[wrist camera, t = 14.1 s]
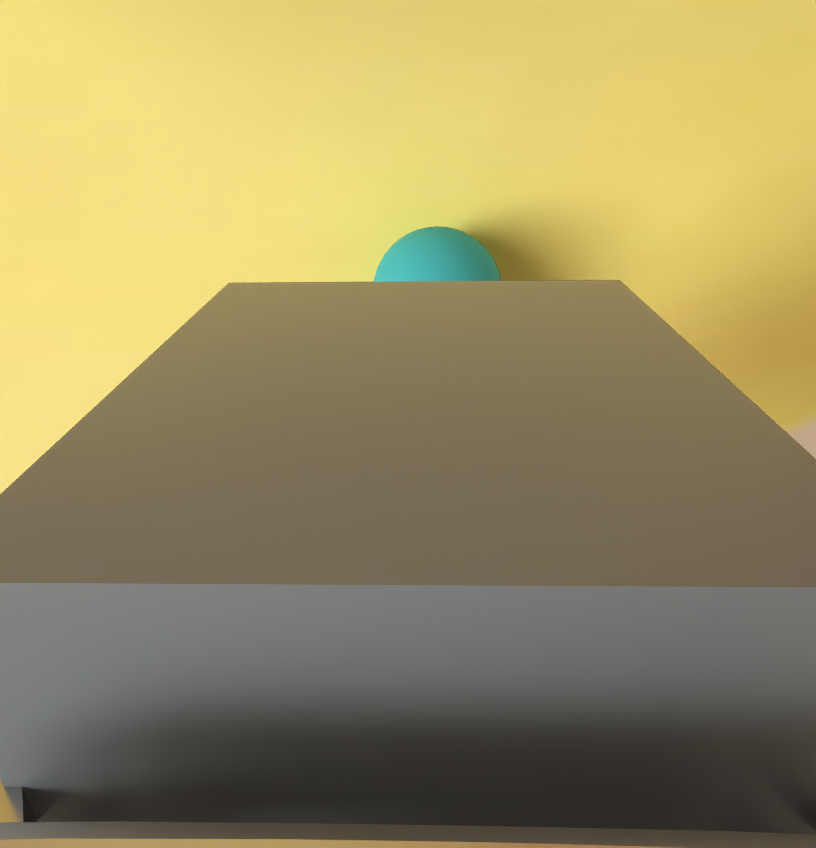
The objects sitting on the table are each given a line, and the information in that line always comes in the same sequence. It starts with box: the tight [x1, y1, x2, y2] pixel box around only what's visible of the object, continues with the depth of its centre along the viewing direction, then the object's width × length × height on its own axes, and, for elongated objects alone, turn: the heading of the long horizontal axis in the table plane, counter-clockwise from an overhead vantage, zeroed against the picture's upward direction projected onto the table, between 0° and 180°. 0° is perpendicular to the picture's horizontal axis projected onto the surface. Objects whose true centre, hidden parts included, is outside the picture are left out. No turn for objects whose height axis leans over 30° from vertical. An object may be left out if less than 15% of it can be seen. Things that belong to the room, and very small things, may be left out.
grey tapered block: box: [0, 280, 816, 834], centre depth 10 cm, size 8×8×9 cm
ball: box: [374, 227, 501, 282], centre depth 25 cm, size 5×5×5 cm
